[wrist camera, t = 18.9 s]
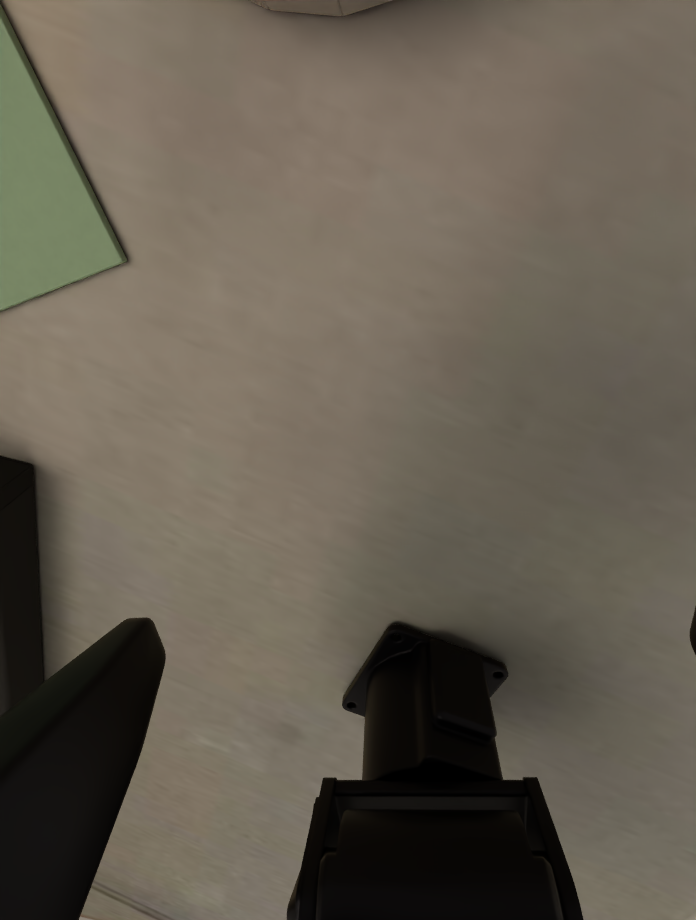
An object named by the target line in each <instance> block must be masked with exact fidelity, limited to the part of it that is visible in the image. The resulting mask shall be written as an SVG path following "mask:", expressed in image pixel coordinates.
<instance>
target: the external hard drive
mask: <svg viewBox="0 0 696 920" xmlns="http://www.w3.org/2000/svg"><path fill="white" fill-rule="evenodd" d="M42 683H43V665H42V645H41V625H40V606H39V586H38V566H37V546H36V526H35V506H34V487H33V467H32V465H31V464H29V463H26V462H22V461H18V460H14V459H10V458H6V457H2V456H0V716H1V715H2V714H4V713H5V712H6V711H7V710H9V709H10V708H11V707H13V706H14V705H15V704H16V703H18V702H19V701H20V700H22V699H23V698H24V697H26V696H27V695H28V694H29V693H31V692H32V691H33V690H35V689H36V688H37V687H39V686H40V685H41V684H42Z"/></svg>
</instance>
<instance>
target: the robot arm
mask: <svg viewBox="0 0 696 920" xmlns="http://www.w3.org/2000/svg"><path fill="white" fill-rule="evenodd" d="M394 634H398V635H397V636H396V635H394ZM690 642H691V645H692V648H693V650H694V653H695V655H696V608H695V612H694V616H693V620H692V624H691V628H690ZM165 659H166V657H165V650H164V647H163V644H162V642H161V639H160V637H159V634H158V632H157V629H156V627H155V624H154V622H153V621H152V620H151V619H150V618H130V619H126V620H124V621H123V622H121V623H120V624H119V625H118V626H116V627H115V628H114V629H112V630H111V631H110V632H108V633H107V634H106V635H105V636H103V637H102V638H101V639H99V640H98V641H97V642H96V643H94V644H93V645H92V646H90V647H89V648H88V649H86V650H85V651H84V652H83V653H81V654H80V655H79V656H77V657H76V658H75V659H73V660H72V661H71V662H70V663H68V664H67V665H66V666H64V667H63V668H62V669H61V670H59V671H58V672H57V673H55V674H54V675H53V676H51V677H50V678H49V679H48V680H46V681H45V682H44V683H42V684H41V685H40V686H39V687H37V688H36V689H35V690H33V691H32V692H31V693H29V694H28V695H27V696H26V697H24V698H23V699H22V700H20V701H19V702H18V703H16V704H15V705H14V706H13V707H11V708H10V709H9V710H7V711H6V712H5V713H4V714H2V715H1V716H0V920H79V917H80V915H81V912H82V909H83V907H84V904H85V901H86V899H87V896H88V893H89V891H90V888H91V885H92V883H93V880H94V877H95V875H96V872H97V869H98V867H99V864H100V861H101V859H102V856H103V853H104V851H105V848H106V845H107V843H108V840H109V837H110V834H111V832H112V829H113V826H114V824H115V821H116V818H117V816H118V813H119V810H120V808H121V805H122V802H123V800H124V797H125V794H126V792H127V789H128V786H129V784H130V781H131V778H132V776H133V773H134V770H135V768H136V765H137V762H138V759H139V756H140V753H141V750H142V747H143V744H144V740H145V737H146V733H147V729H148V726H149V722H150V718H151V714H152V711H153V707H154V703H155V699H156V696H157V692H158V688H159V684H160V681H161V677H162V673H163V669H164V666H165ZM497 671H498V672H497ZM507 677H508V671H507V667H506V665H505V664H504V663H502V662H500V661H497V660H495V659H492V658H489V657H486V656H484V655H481V654H478V653H476V652H473V651H470V650H467V649H465V648H462V647H459V646H456V645H454V644H451V643H448V642H446V641H443V640H440V639H437V638H435V637H432V636H429V635H427V634H424V633H421V632H418V631H416V630H413V629H410V628H408V627H405V626H402V625H398V624H393V625H390V626H389V627H388V628H387V629H386V630H385V632H384V634H383V635H382V637H381V638H380V640H379V641H378V643H377V644H376V646H375V648H374V649H373V651H372V652H371V654H370V655H369V657H368V658H367V660H366V662H365V663H364V665H363V666H362V668H361V669H360V671H359V672H358V674H357V676H356V677H355V679H354V680H353V682H352V683H351V685H350V686H349V688H348V690H347V691H346V693H345V694H344V696H343V702H342V706H343V708H344V709H345V710H347V711H350V712H353V713H356V714H358V715H361V716H364V717H365V728H364V751H363V773H362V780H337V779H336V778H323V781H322V786H321V791H320V795H319V797H316V801H315V804H314V807H313V815H312V819H311V824H310V829H309V833H308V838H307V843H306V847H305V852H304V857H303V861H302V866H301V870H300V873H299V876H298V878H297V881H296V884H295V887H294V890H293V893H292V895H291V898H290V901H289V904H288V909H287V920H583V916H582V911H581V907H580V903H579V899H578V896H577V892H576V888H575V885H574V882H573V878H572V875H571V872H570V869H569V866H568V864H567V861H566V858H565V855H564V852H563V849H562V846H561V844H560V841H559V838H558V835H557V832H556V829H555V826H554V824H553V821H552V818H551V815H550V812H549V809H548V807H547V804H546V801H545V798H544V795H543V792H542V789H541V787H540V784H539V781H538V778H537V777H523V780H503V777H502V772H501V767H500V762H499V757H498V752H497V747H496V742H495V736H496V735H497V731H496V726H495V721H494V716H493V711H492V706H491V701H490V697H491V696H492V695H493V694H494V692H495V691H496V690H497V689H498V688H499V687H500V685H501V684H502V683H503V682H504V681H505V680H506V679H507Z"/></svg>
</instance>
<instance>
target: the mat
mask: <svg viewBox="0 0 696 920" xmlns="http://www.w3.org/2000/svg"><path fill="white" fill-rule="evenodd" d="M125 262H127V259H126V257H125V255H124V253H123V251H122V249H121V247H120V245H119V243H118V241H117V239H116V237H115V235H114V233H113V231H112V228H111V226H110V224H109V222H108V220H107V218H106V216H105V214H104V212H103V210H102V208H101V206H100V204H99V202H98V200H97V198H96V196H95V194H94V192H93V190H92V188H91V186H90V184H89V182H88V180H87V178H86V176H85V174H84V172H83V170H82V168H81V166H80V164H79V162H78V160H77V158H76V156H75V154H74V152H73V150H72V148H71V146H70V144H69V142H68V140H67V138H66V136H65V134H64V131H63V129H62V127H61V125H60V123H59V121H58V119H57V117H56V115H55V113H54V111H53V109H52V107H51V105H50V103H49V101H48V99H47V97H46V95H45V93H44V91H43V89H42V87H41V85H40V83H39V81H38V79H37V77H36V75H35V73H34V71H33V69H32V67H31V65H30V63H29V61H28V59H27V57H26V55H25V53H24V51H23V49H22V47H21V45H20V43H19V41H18V39H17V37H16V35H15V32H14V30H13V28H12V26H11V24H10V22H9V20H8V18H7V16H6V14H5V12H4V10H3V8H2V6H1V4H0V311H3V310H5V309H8V308H10V307H13V306H15V305H18V304H20V303H23V302H26V301H28V300H31V299H33V298H36V297H38V296H41V295H43V294H46V293H48V292H51V291H54V290H56V289H59V288H61V287H64V286H66V285H69V284H71V283H74V282H76V281H79V280H82V279H84V278H87V277H89V276H92V275H94V274H97V273H99V272H102V271H104V270H107V269H110V268H112V267H115V266H117V265H120V264H122V263H125Z"/></svg>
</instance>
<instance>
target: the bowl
mask: <svg viewBox="0 0 696 920" xmlns="http://www.w3.org/2000/svg"><path fill="white" fill-rule="evenodd" d="M250 1H252V2H254V3H256V4H258V5H260V6H261V7H263V8H268V9H269V10H272V11H284V12H296V13H307V14H319V15H330V16H342V15H343V16H346V15H349V14H352V13H355V12H358V11H361V10H364V9H367V8H370V7H373V6H376V5H379V4H383V3H386V2H389V1H392V0H250Z"/></svg>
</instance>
